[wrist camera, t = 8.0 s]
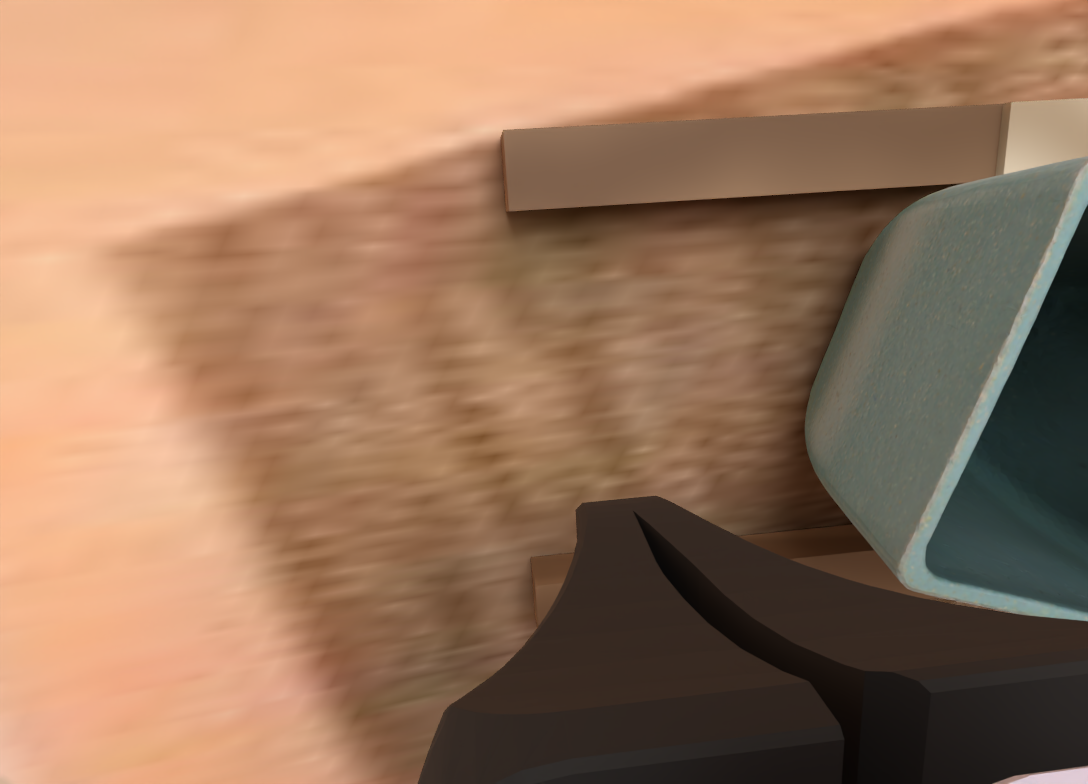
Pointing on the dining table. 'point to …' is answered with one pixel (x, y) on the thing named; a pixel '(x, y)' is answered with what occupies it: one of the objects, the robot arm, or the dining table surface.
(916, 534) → the flower pot
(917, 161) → the wooden frame
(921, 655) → the robot arm
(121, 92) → the dining table surface
